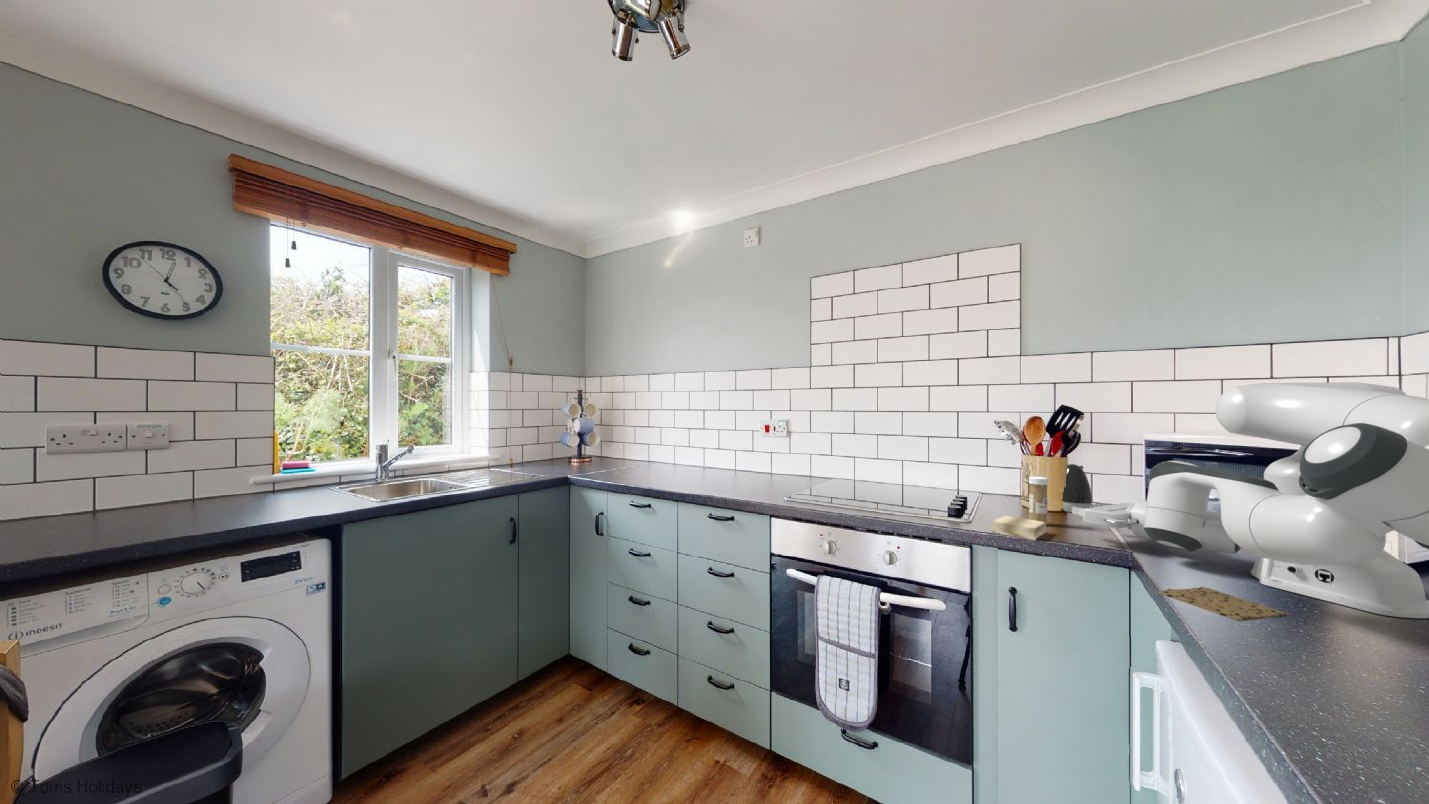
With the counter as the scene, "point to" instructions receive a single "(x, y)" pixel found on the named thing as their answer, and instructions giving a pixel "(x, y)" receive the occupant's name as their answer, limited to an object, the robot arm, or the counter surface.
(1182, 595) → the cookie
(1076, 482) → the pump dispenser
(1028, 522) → the block
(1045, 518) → the sprinkles bottle
